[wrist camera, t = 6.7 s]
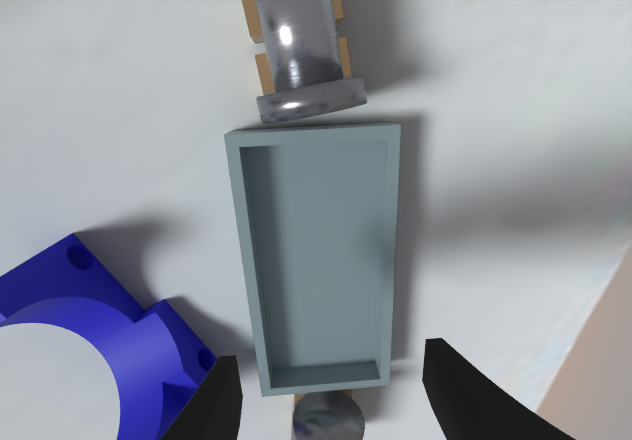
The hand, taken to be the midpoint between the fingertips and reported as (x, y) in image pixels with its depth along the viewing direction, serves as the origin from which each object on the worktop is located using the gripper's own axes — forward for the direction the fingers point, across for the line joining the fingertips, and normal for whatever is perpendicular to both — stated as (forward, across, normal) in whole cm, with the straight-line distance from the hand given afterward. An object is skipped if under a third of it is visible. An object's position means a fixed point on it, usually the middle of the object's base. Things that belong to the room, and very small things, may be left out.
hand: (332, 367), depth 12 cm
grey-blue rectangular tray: (+8, 0, 0) cm, 8 cm away
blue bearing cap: (+8, +12, +2) cm, 15 cm away
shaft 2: (+8, 0, +9) cm, 12 cm away
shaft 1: (+8, 0, -9) cm, 12 cm away
